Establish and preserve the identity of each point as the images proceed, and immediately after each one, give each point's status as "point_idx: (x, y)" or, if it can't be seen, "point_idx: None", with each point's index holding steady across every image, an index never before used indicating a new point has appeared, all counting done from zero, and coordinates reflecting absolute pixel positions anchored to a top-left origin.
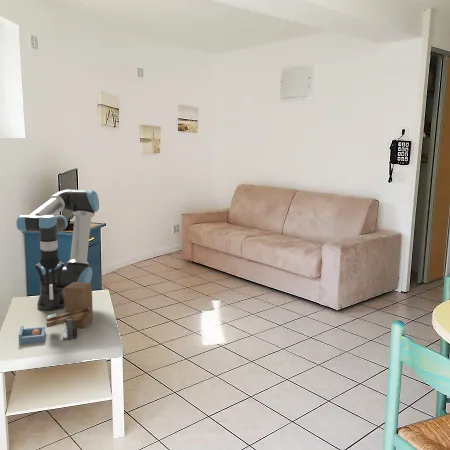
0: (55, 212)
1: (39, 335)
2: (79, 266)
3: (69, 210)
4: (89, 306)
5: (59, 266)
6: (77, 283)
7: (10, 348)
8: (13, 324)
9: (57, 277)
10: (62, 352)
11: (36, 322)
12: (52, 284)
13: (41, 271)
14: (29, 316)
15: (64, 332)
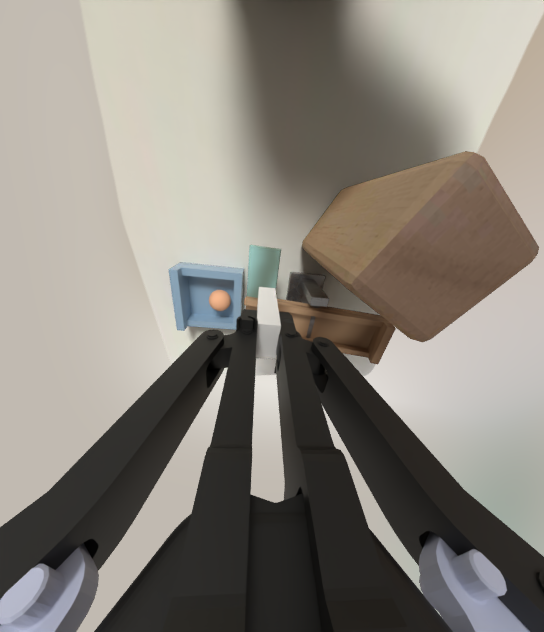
0: None
1: (229, 326)
2: None
3: None
4: (386, 341)
5: (422, 566)
6: (466, 230)
7: (171, 329)
8: (129, 145)
9: (327, 395)
10: (273, 372)
11: (212, 159)
12: (276, 364)
13: (148, 459)
14: (174, 48)
15: (290, 296)
